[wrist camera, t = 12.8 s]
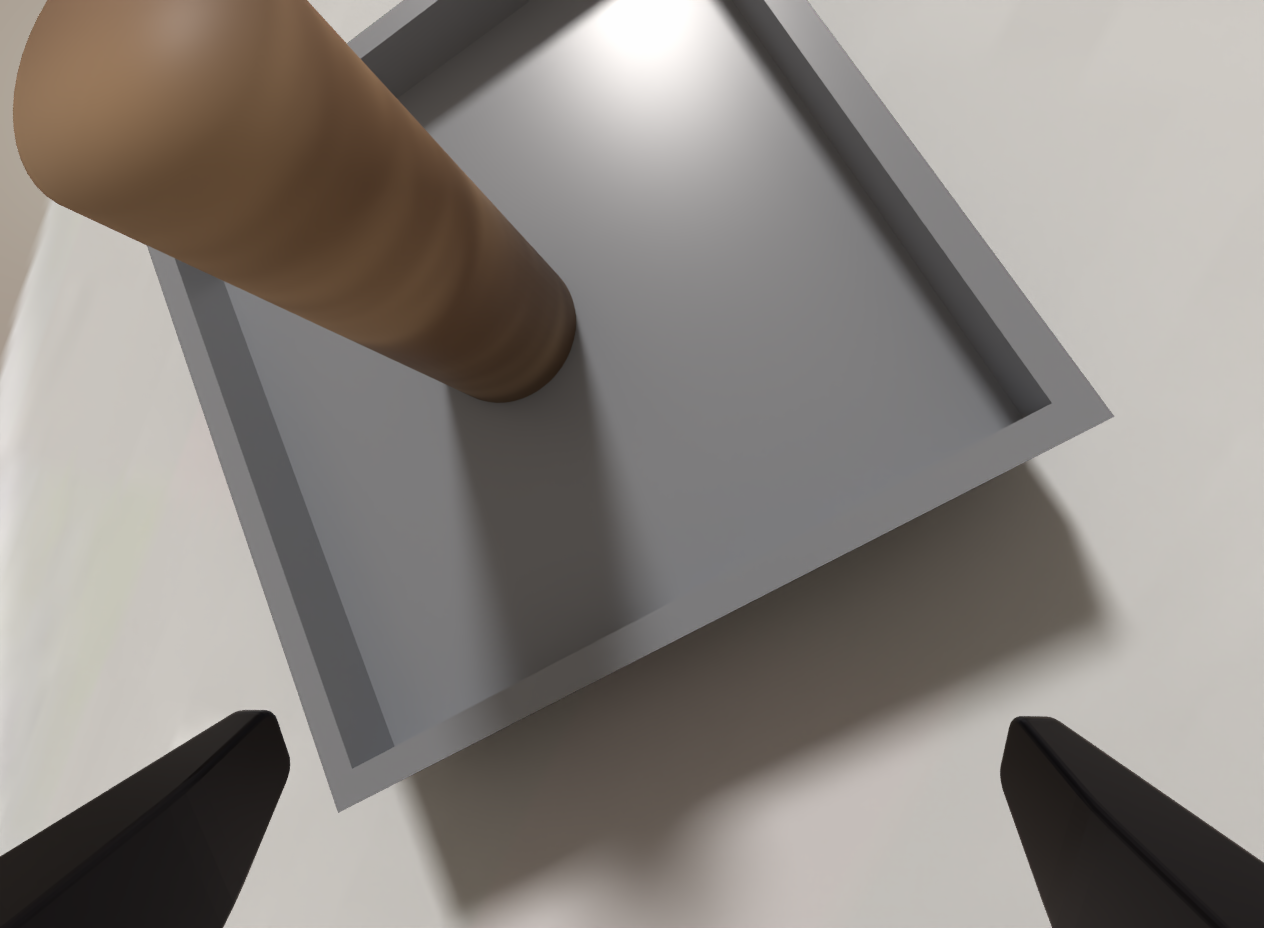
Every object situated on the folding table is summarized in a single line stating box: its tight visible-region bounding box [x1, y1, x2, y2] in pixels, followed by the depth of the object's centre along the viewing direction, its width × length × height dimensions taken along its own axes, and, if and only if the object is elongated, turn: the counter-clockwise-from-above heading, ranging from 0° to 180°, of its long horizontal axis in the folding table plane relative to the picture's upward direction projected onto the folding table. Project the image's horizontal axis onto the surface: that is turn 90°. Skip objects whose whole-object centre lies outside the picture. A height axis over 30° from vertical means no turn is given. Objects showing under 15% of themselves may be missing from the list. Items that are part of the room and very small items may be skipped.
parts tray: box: [147, 0, 1114, 813], centre depth 19 cm, size 20×20×4 cm
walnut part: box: [13, 0, 576, 403], centre depth 14 cm, size 4×4×11 cm
